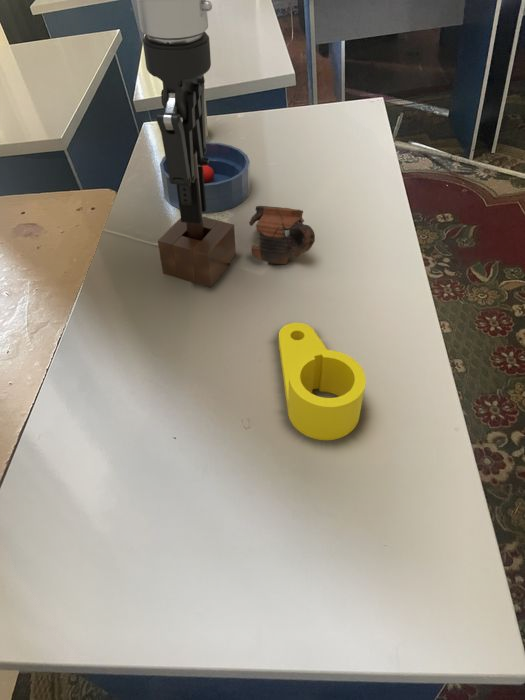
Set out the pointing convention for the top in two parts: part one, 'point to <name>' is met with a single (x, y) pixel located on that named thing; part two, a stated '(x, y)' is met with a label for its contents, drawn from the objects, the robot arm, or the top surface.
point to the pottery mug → (280, 234)
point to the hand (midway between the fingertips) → (193, 215)
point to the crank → (319, 384)
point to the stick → (197, 229)
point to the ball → (208, 173)
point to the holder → (197, 252)
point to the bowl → (217, 178)
